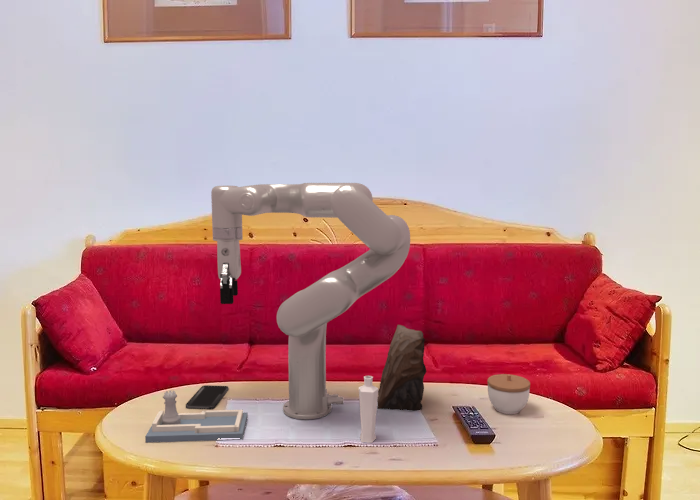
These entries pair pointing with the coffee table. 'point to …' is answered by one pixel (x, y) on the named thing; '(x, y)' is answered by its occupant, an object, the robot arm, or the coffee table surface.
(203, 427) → the keyhole board
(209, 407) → the phone
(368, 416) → the perfume bottle
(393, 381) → the brown rock
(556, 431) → the coffee table surface
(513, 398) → the lidded jar
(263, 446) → the coffee table surface
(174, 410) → the rook chess piece
